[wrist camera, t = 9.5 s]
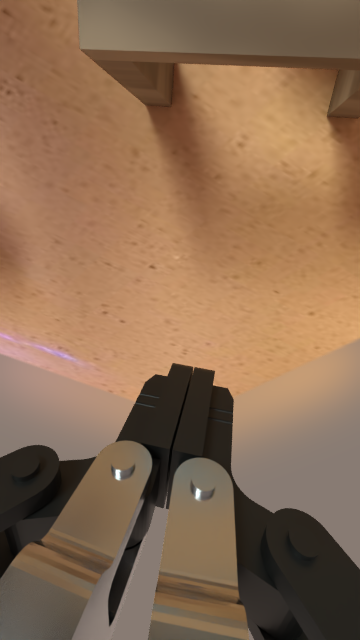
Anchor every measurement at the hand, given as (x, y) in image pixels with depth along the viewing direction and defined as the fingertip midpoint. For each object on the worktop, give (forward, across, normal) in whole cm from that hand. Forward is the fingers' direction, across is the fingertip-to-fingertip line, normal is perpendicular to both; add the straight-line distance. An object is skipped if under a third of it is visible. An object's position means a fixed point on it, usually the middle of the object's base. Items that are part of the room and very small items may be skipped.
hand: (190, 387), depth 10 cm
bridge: (+17, 0, -13) cm, 21 cm away
